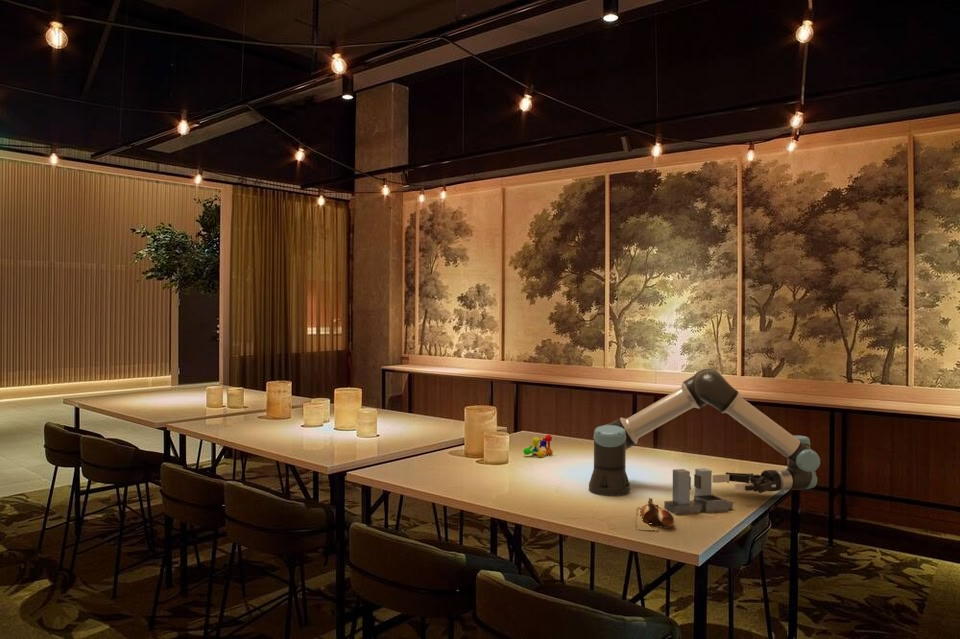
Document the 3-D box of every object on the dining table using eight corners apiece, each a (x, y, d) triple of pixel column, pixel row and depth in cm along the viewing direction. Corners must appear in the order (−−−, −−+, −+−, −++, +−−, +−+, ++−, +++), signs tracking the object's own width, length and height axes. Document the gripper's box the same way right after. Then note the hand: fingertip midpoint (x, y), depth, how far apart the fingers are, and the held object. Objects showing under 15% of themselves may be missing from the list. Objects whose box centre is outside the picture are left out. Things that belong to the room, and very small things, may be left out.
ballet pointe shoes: (635, 513, 206) (632, 490, 234) (636, 535, 206) (633, 509, 234) (682, 514, 204) (674, 491, 231) (683, 537, 204) (674, 510, 231)
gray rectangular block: (699, 502, 239) (700, 471, 239) (693, 499, 243) (693, 468, 243) (711, 502, 240) (711, 470, 240) (704, 499, 244) (705, 468, 244)
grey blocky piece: (676, 514, 224) (676, 473, 224) (664, 508, 231) (664, 468, 231) (735, 510, 229) (735, 470, 229) (721, 504, 237) (722, 465, 237)
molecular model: (525, 462, 321) (546, 441, 327) (540, 470, 313) (561, 448, 320) (517, 446, 315) (538, 425, 321) (532, 454, 308) (554, 432, 314)
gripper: (799, 499, 236) (745, 503, 231) (753, 482, 261) (704, 485, 255) (799, 477, 236) (746, 481, 231) (753, 462, 261) (704, 465, 255)
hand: (723, 483), depth 243 cm, fingers open, 13 cm apart
